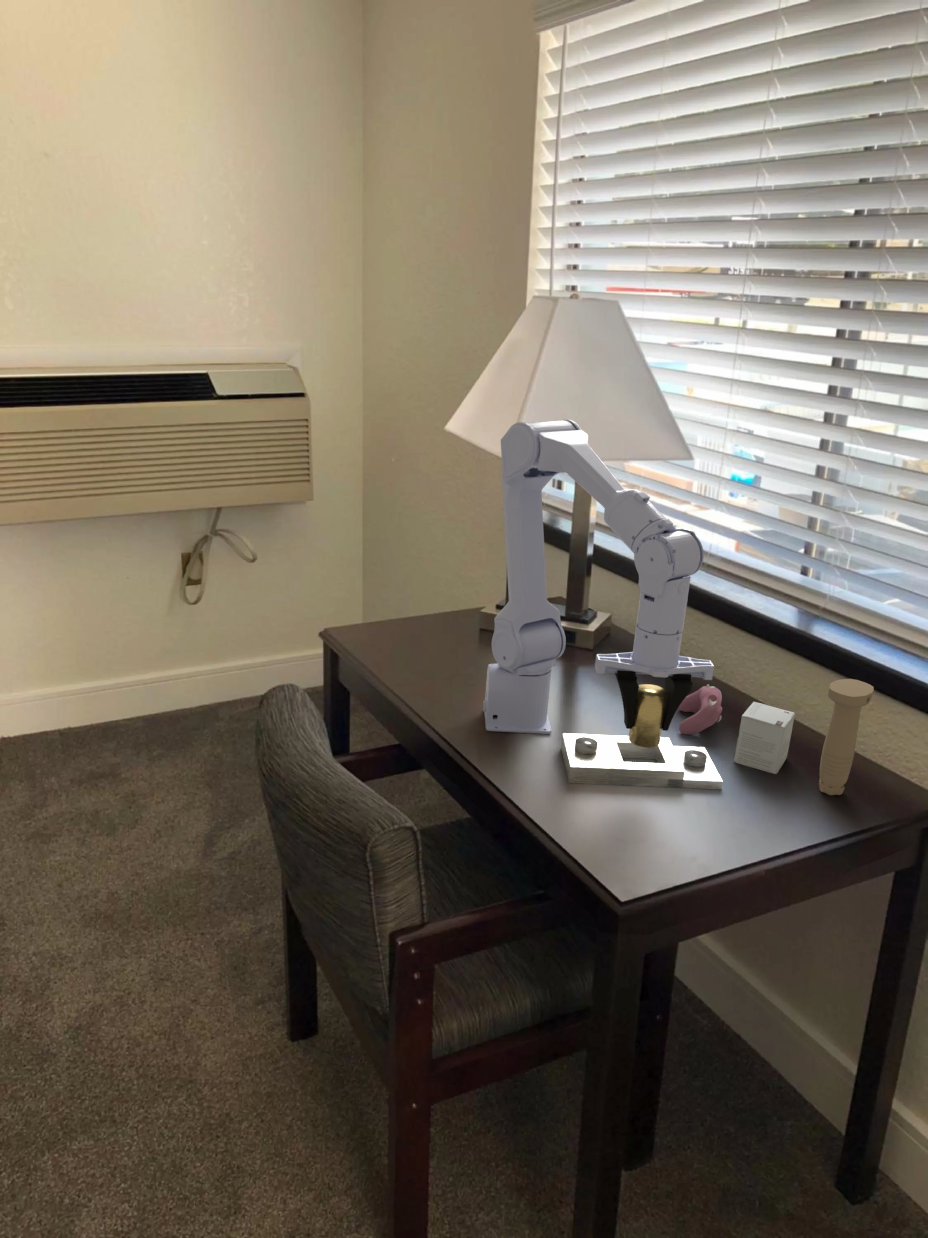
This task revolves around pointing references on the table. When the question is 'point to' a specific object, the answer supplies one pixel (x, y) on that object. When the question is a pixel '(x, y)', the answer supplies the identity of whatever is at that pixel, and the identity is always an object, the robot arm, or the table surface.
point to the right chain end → (693, 762)
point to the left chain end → (614, 759)
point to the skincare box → (764, 737)
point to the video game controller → (701, 709)
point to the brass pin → (648, 716)
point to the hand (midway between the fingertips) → (645, 726)
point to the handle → (842, 733)
